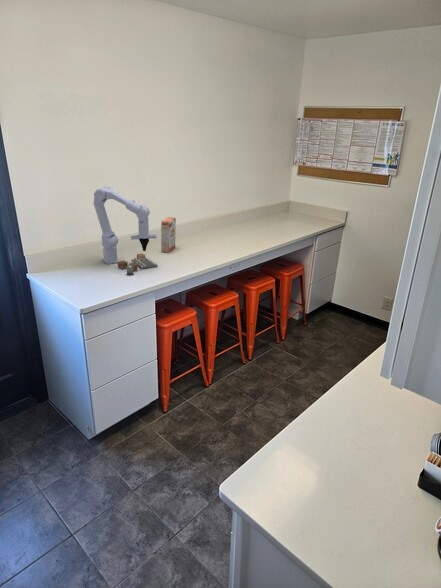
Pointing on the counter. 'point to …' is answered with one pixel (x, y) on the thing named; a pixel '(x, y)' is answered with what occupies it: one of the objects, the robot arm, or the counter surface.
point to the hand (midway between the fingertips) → (144, 250)
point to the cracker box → (168, 234)
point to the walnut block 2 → (134, 266)
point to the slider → (141, 257)
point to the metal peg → (129, 269)
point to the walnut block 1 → (122, 265)
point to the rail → (144, 263)
